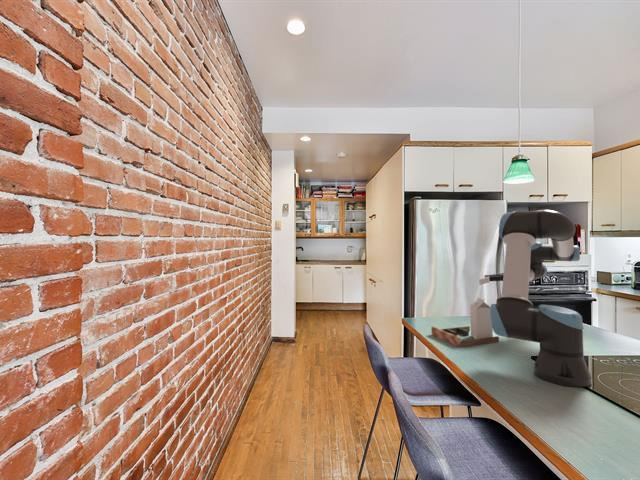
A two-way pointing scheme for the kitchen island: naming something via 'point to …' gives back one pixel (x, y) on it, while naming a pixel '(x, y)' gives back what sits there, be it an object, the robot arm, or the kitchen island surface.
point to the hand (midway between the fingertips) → (492, 284)
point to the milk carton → (480, 320)
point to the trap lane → (452, 337)
